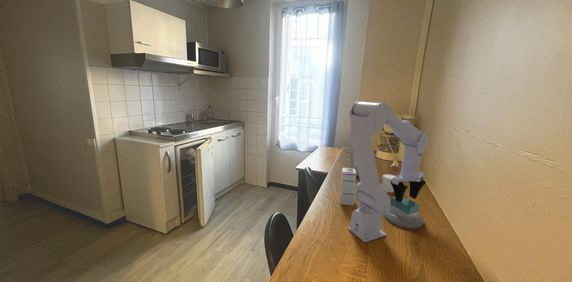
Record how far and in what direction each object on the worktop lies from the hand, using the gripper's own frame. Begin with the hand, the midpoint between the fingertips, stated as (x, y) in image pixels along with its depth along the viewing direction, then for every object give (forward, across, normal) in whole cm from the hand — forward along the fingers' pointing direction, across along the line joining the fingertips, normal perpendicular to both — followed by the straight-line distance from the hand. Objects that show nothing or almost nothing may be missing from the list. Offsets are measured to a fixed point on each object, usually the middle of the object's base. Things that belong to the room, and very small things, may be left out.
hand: (405, 199), depth 83 cm
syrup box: (+8, -11, +19) cm, 23 cm away
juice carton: (+8, +17, +44) cm, 48 cm away
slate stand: (+8, 0, 0) cm, 8 cm away
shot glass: (+8, +16, +21) cm, 28 cm away
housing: (+7, 0, 0) cm, 7 cm away
